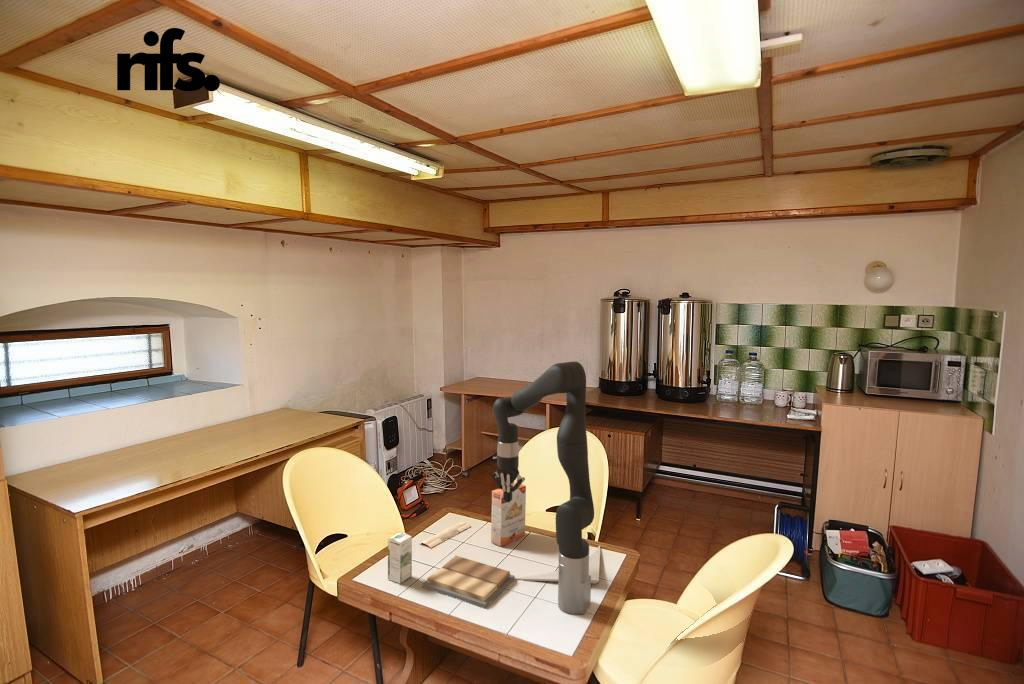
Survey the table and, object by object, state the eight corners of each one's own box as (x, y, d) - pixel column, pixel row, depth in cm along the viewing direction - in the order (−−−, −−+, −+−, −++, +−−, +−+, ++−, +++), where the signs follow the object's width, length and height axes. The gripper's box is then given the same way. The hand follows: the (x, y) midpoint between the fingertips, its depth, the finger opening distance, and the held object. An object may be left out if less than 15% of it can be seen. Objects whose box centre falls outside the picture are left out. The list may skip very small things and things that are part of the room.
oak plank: (497, 589, 165) (497, 584, 165) (484, 601, 158) (484, 596, 158) (441, 571, 176) (441, 567, 176) (427, 582, 169) (427, 577, 169)
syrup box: (399, 572, 178) (399, 531, 176) (412, 576, 174) (412, 535, 173) (387, 579, 173) (387, 537, 172) (400, 584, 170) (400, 542, 168)
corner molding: (509, 583, 174) (599, 585, 168) (508, 578, 174) (598, 580, 168) (524, 549, 203) (600, 550, 197) (523, 544, 203) (600, 545, 197)
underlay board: (514, 579, 173) (514, 575, 173) (484, 608, 157) (484, 604, 157) (456, 561, 185) (456, 558, 185) (422, 586, 168) (422, 583, 168)
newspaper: (460, 524, 217) (460, 520, 217) (473, 529, 213) (473, 525, 213) (419, 545, 198) (419, 541, 198) (432, 551, 194) (432, 546, 194)
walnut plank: (509, 575, 172) (509, 571, 172) (497, 588, 166) (497, 583, 165) (456, 559, 183) (455, 555, 183) (442, 570, 176) (442, 566, 176)
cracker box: (501, 548, 195) (501, 494, 194) (490, 542, 199) (490, 490, 198) (526, 536, 205) (526, 485, 204) (515, 531, 210) (515, 481, 208)
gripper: (529, 453, 180) (529, 501, 182) (497, 448, 187) (497, 494, 188) (519, 459, 174) (519, 508, 175) (486, 453, 180) (486, 501, 181)
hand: (507, 501), depth 181 cm, fingers closed
